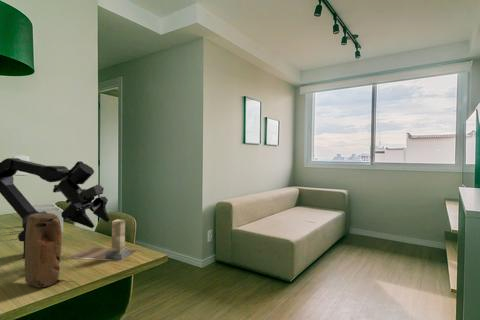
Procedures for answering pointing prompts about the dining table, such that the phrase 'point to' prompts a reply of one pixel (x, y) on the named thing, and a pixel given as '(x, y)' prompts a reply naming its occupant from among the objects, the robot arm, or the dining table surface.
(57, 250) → the block
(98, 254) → the plank
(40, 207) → the storage container
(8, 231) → the dining table surface
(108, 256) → the wooden post with base
